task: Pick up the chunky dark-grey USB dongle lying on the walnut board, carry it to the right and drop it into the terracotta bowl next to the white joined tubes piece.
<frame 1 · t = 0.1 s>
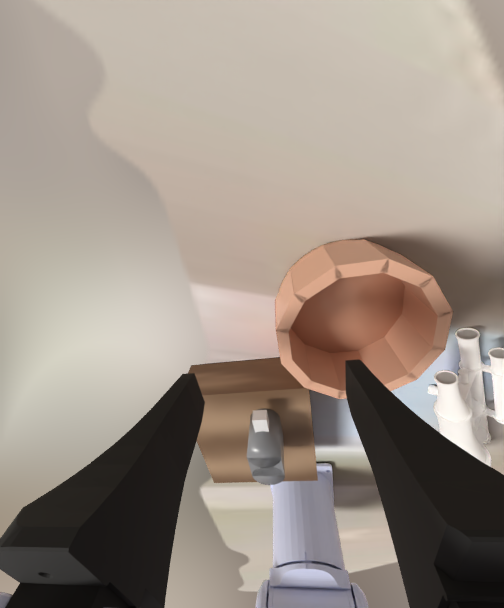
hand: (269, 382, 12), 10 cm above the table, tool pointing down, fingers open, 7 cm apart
connector: (267, 427, 23), point 4 cm above the table, touching board
board: (256, 407, 28), on the table
bowl: (341, 303, 21), on the table
white joined tubes piece: (446, 387, 25), on the table
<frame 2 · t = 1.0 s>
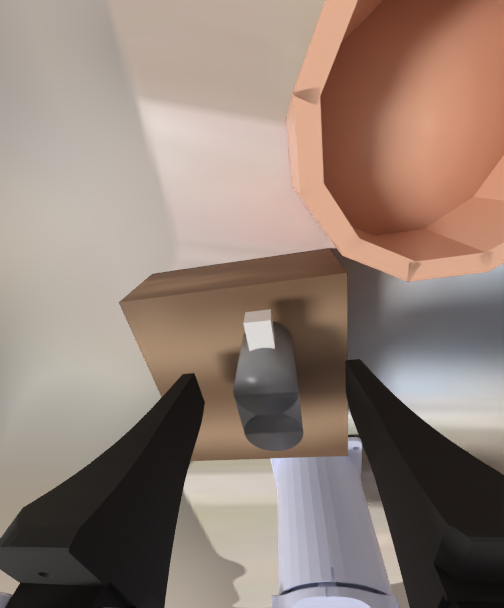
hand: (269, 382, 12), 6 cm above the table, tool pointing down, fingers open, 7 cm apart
connector: (270, 360, 14), point 4 cm above the table, touching board
board: (254, 347, 18), on the table
bowl: (401, 133, 12), on the table
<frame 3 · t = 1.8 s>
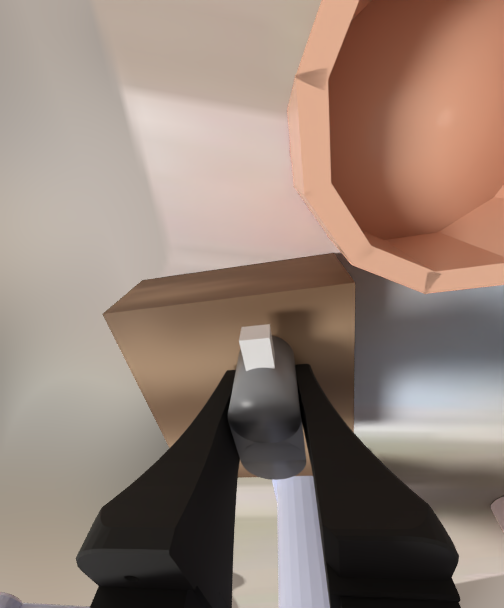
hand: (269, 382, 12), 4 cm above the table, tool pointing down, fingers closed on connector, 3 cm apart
connector: (269, 376, 13), point 4 cm above the table, touching board, gripper
board: (252, 358, 17), on the table
bowl: (415, 126, 11), on the table
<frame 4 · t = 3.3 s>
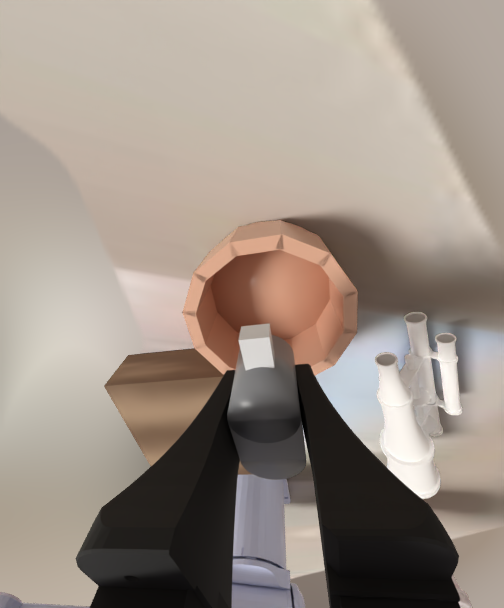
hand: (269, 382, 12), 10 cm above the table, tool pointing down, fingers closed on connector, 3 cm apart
connector: (269, 376, 13), point 9 cm above the table, touching gripper
board: (200, 399, 27), on the table
bowl: (269, 289, 20), on the table
white joined tubes piece: (398, 377, 24), on the table
when the fingers open (6 cm above the table, at t = 3.9 s): connector drops 5 cm, resting on bowl.
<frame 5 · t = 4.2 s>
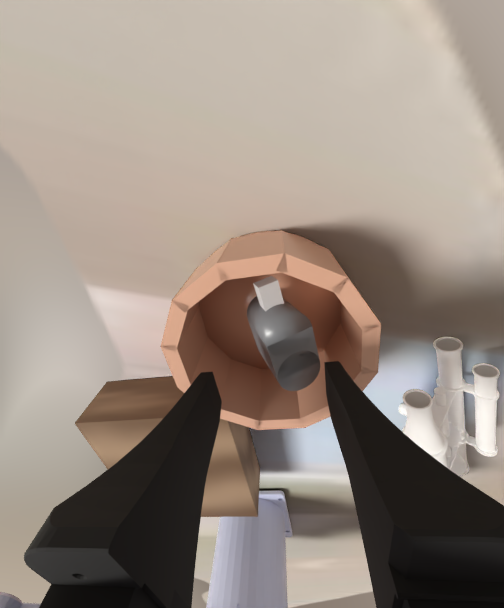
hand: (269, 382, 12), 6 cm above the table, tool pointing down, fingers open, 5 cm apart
connector: (271, 326, 17), point 1 cm above the table, tilted 22°, touching bowl
board: (190, 429, 24), on the table
bowl: (269, 310, 17), on the table
white joined tubes piece: (420, 407, 21), on the table
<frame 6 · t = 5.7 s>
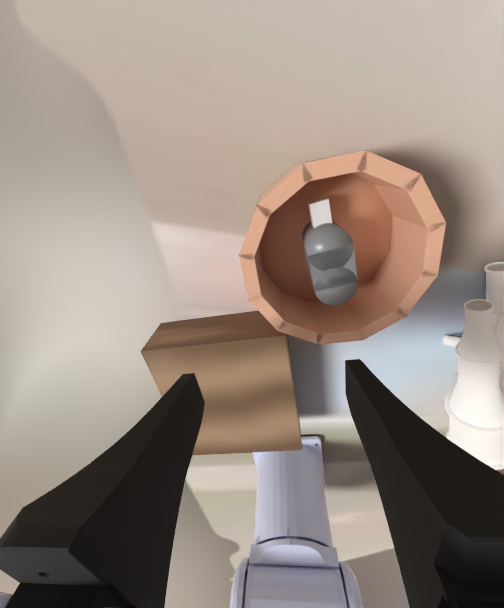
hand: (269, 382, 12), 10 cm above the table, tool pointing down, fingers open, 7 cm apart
connector: (323, 252, 18), point 1 cm above the table, touching bowl
board: (235, 372, 25), on the table
bowl: (322, 242, 19), on the table
white joined tubes piece: (462, 341, 22), on the table
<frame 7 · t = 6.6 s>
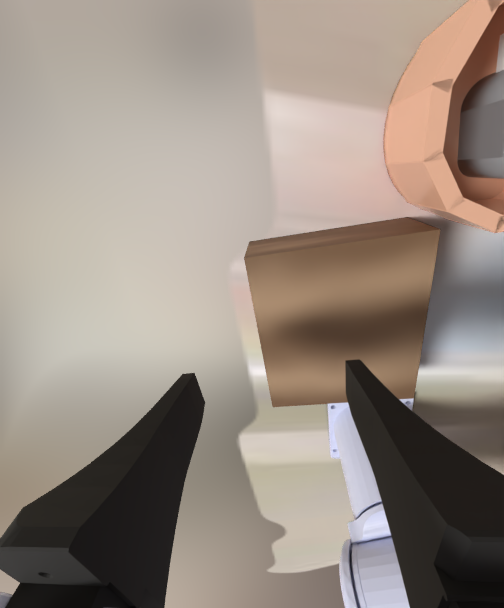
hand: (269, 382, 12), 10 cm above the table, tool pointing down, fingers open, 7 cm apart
connector: (484, 129, 15), point 1 cm above the table, touching bowl
board: (328, 308, 21), on the table
bowl: (480, 118, 15), on the table
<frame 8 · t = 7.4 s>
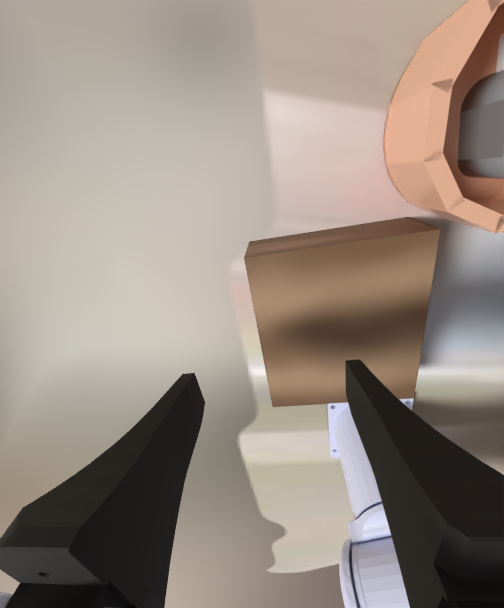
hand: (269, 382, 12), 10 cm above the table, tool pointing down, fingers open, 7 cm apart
connector: (484, 129, 15), point 1 cm above the table, touching bowl
board: (328, 308, 21), on the table
bowl: (480, 118, 15), on the table
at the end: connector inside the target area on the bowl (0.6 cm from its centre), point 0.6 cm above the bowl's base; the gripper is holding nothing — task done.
